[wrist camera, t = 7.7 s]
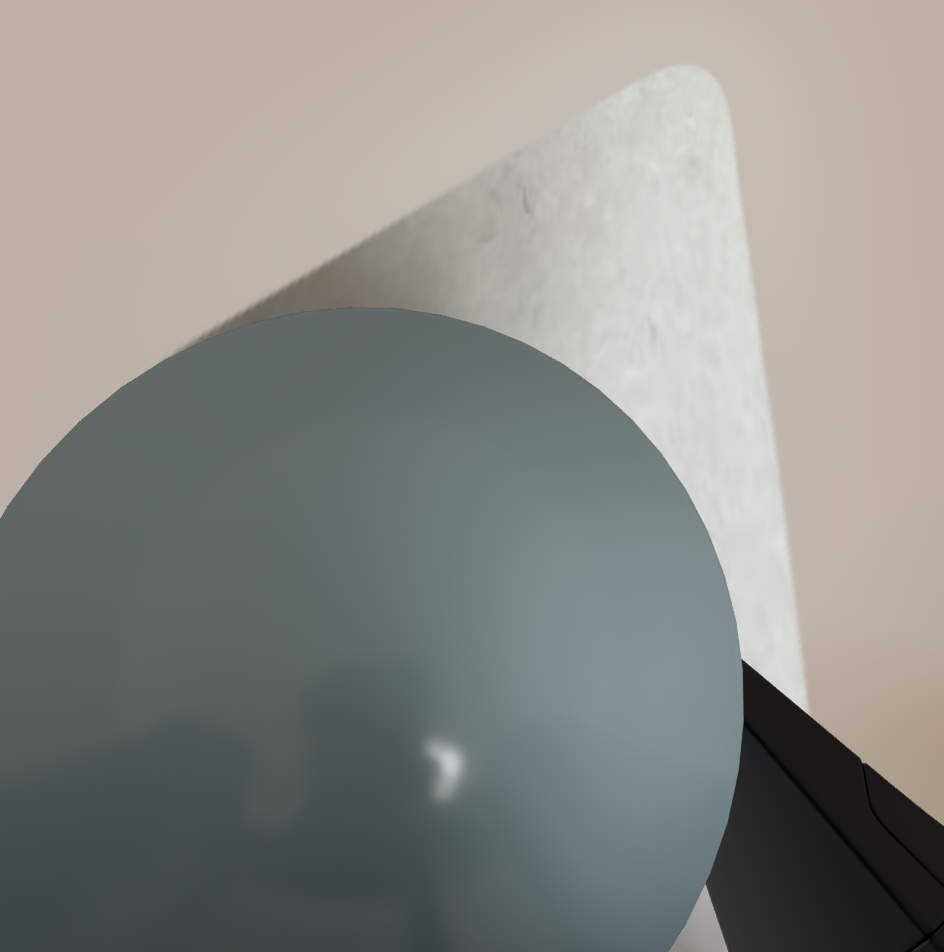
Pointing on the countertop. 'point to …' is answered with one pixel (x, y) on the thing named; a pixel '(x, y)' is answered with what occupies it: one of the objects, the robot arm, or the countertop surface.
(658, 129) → the countertop surface
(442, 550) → the dome-topped hexagonal post
